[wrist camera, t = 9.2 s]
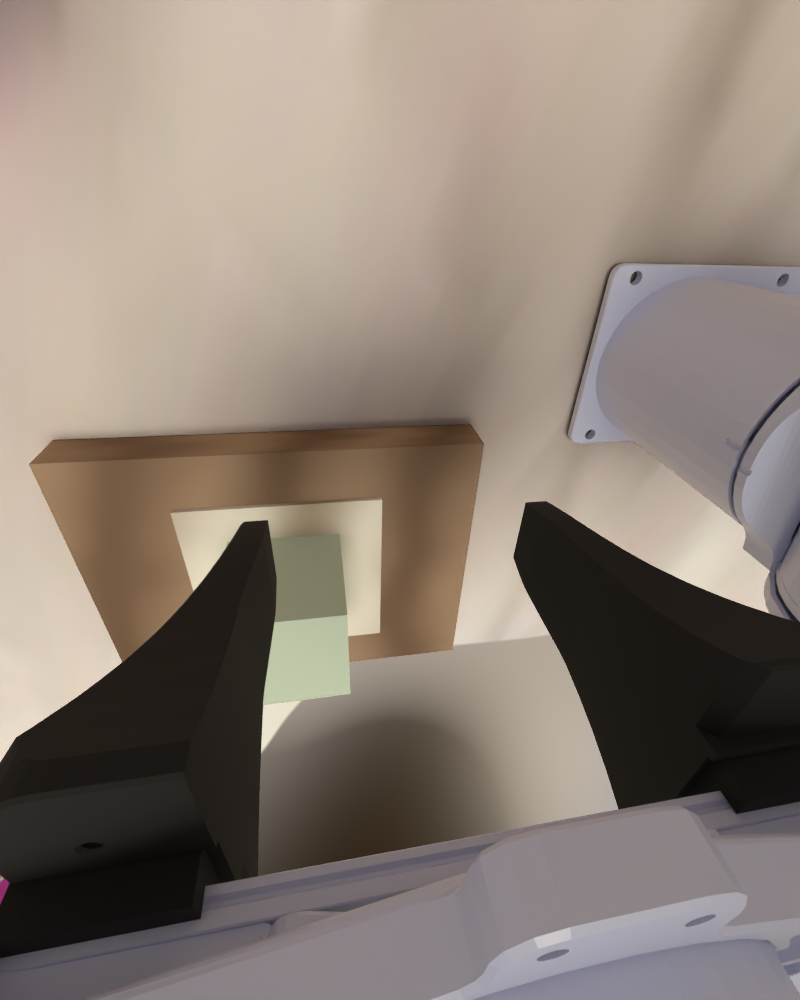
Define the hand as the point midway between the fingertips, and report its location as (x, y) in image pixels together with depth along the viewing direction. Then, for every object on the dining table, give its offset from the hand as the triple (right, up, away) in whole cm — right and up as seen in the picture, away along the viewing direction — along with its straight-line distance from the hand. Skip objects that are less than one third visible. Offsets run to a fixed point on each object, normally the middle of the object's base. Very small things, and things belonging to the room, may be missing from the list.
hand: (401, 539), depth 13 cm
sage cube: (-5, -3, +10) cm, 11 cm away
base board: (-6, -2, +11) cm, 13 cm away
